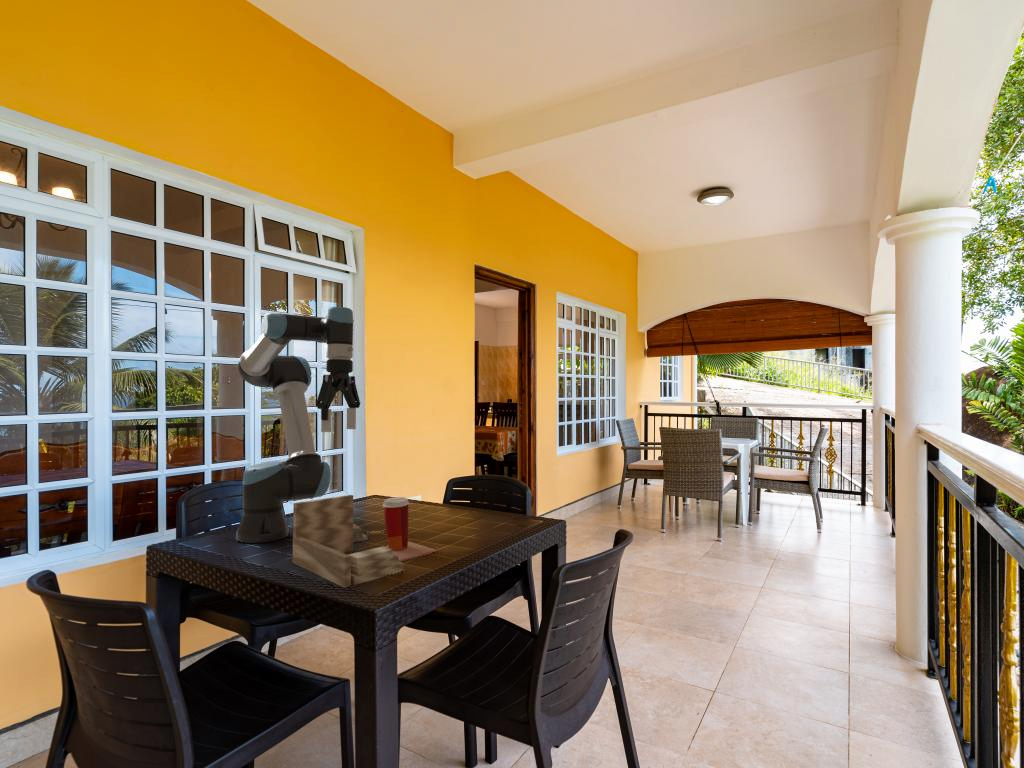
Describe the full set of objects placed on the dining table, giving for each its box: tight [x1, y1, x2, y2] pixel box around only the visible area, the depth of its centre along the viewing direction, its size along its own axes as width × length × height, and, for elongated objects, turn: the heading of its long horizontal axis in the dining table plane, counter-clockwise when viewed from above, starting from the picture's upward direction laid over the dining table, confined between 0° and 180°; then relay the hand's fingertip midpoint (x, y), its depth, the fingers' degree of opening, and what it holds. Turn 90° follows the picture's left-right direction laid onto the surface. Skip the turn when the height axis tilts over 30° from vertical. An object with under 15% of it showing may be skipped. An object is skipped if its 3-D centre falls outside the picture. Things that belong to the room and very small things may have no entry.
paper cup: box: [382, 496, 410, 550], centre depth 158 cm, size 8×8×14 cm
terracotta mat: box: [383, 540, 438, 563], centre depth 155 cm, size 14×14×1 cm
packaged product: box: [353, 522, 368, 543], centre depth 174 cm, size 18×5×10 cm
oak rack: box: [292, 494, 354, 589], centre depth 143 cm, size 17×28×16 cm, turn 46°
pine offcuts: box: [347, 546, 405, 586], centre depth 135 cm, size 14×5×6 cm, turn 136°
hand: (339, 430), depth 161 cm, fingers open, 13 cm apart
